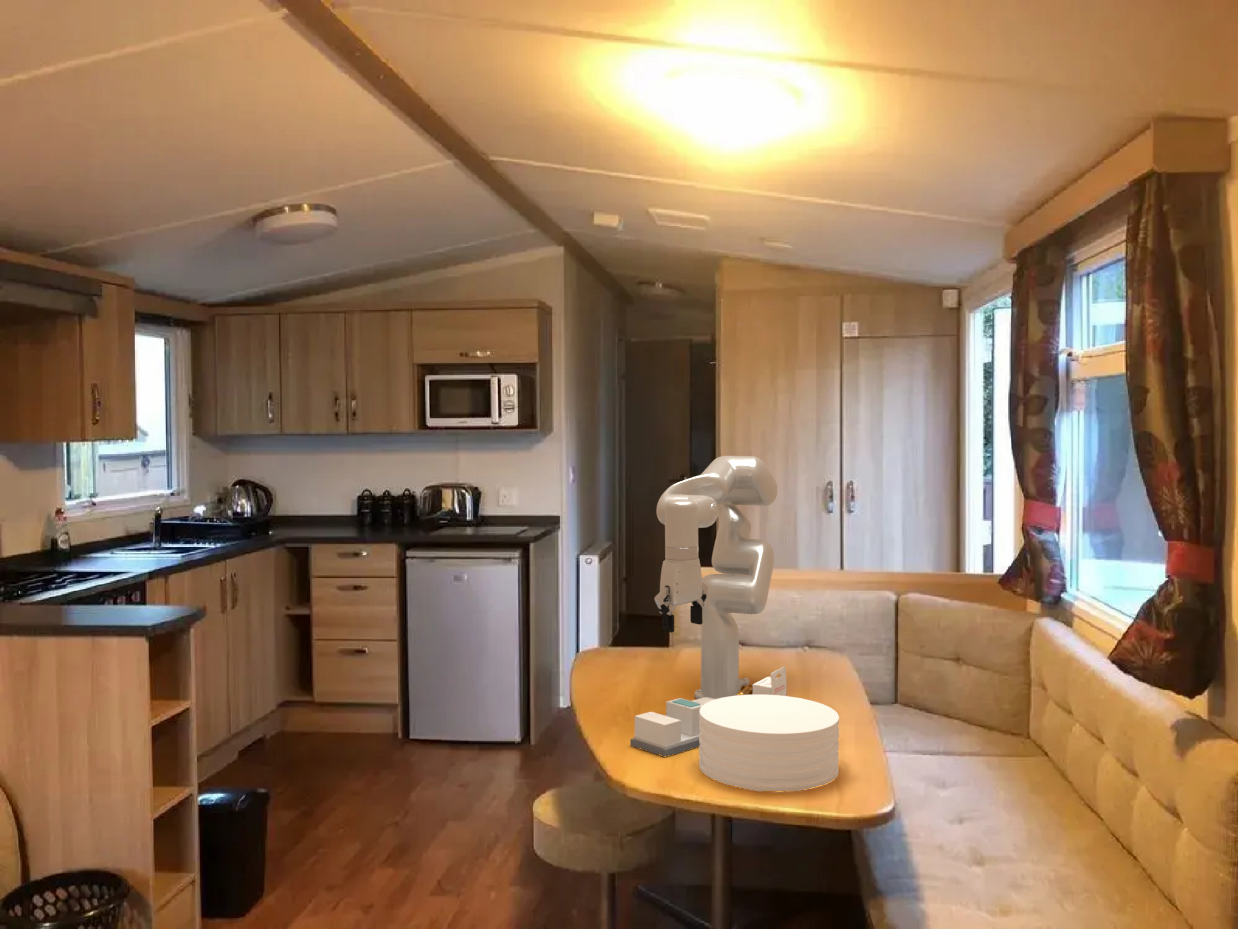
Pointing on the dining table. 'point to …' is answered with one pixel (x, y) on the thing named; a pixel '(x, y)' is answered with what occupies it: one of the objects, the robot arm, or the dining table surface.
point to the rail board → (663, 733)
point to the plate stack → (768, 742)
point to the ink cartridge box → (772, 684)
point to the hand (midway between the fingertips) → (682, 627)
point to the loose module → (685, 715)
